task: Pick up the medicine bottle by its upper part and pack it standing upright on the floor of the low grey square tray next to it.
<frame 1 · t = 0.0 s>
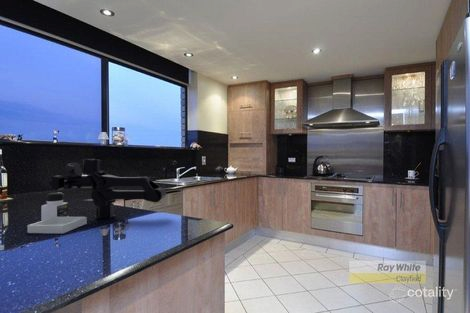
hand: (51, 181, 119), 17 cm above the countertop, tool horizontal, fingers open, 9 cm apart
medicine bottle: (55, 220, 114), on the countertop
grey square tray: (58, 227, 101), on the countertop
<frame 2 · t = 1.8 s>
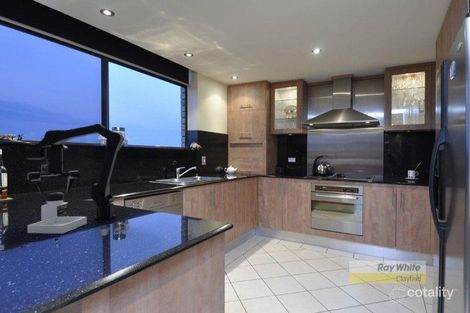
hand: (55, 194, 114), 11 cm above the countertop, tool pointing down, fingers open, 9 cm apart
nothing on the countertop moved.
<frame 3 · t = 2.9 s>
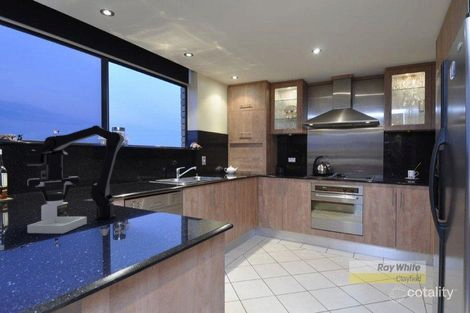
hand: (55, 200, 114), 9 cm above the countertop, tool pointing down, fingers closed on medicine bottle, 6 cm apart
medicine bottle: (55, 220, 114), on the countertop, touching gripper
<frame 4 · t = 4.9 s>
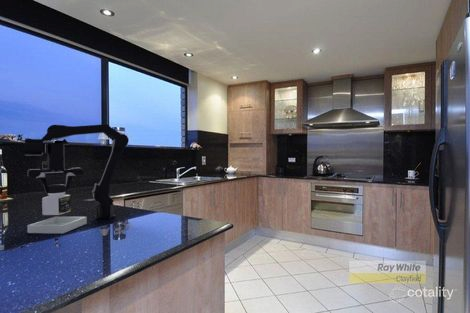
hand: (56, 192, 108), 13 cm above the countertop, tool pointing down, fingers closed on medicine bottle, 6 cm apart
medicine bottle: (57, 213, 108), point 4 cm above the countertop, touching gripper
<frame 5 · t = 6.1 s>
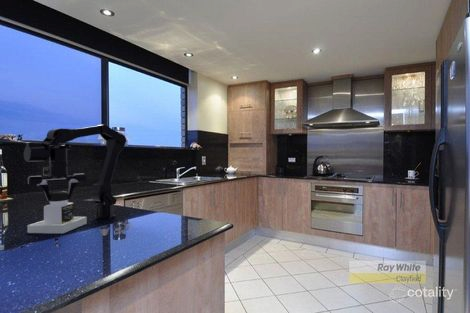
hand: (59, 200, 101), 11 cm above the countertop, tool pointing down, fingers closed on medicine bottle, 6 cm apart
medicine bottle: (59, 222, 101), point 2 cm above the countertop, touching gripper
when the fingers open (10 cm above the countertop, at t = 7.1 s): medicine bottle stays where it is, resting on grey square tray.
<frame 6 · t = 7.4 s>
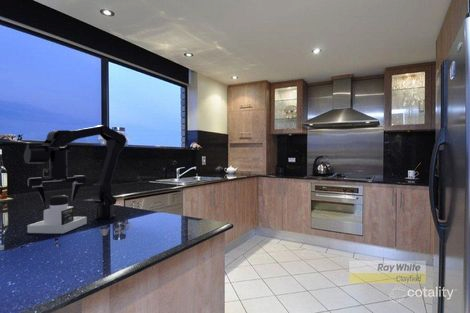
hand: (58, 202, 101), 10 cm above the countertop, tool pointing down, fingers open, 9 cm apart
medicine bottle: (59, 226, 101), resting on grey square tray
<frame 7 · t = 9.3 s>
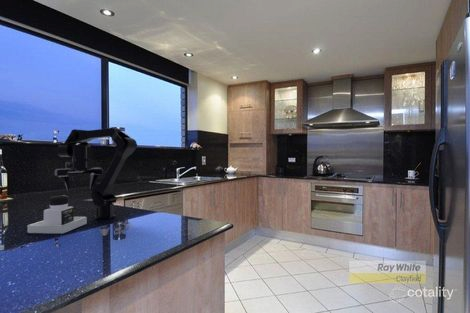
hand: (79, 190, 120), 12 cm above the countertop, tool pointing down, fingers open, 9 cm apart
nothing on the countertop moved.
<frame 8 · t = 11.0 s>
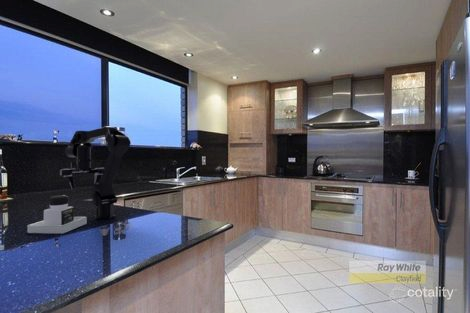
hand: (84, 189, 124), 12 cm above the countertop, tool pointing down, fingers open, 9 cm apart
nothing on the countertop moved.
at the end: medicine bottle inside the target area on the grey square tray (0.1 cm from its centre), point 0.4 cm above the grey square tray's base; medicine bottle tilted 0°; the gripper is holding nothing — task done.
